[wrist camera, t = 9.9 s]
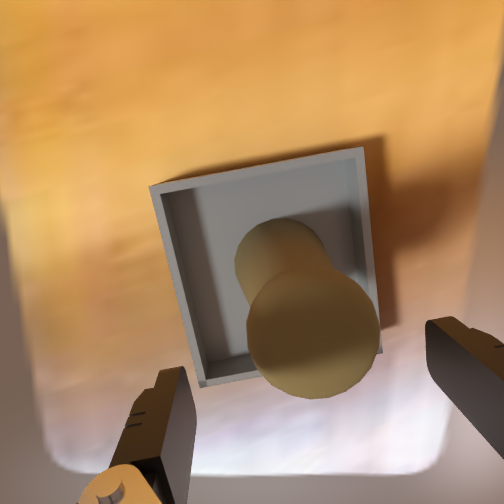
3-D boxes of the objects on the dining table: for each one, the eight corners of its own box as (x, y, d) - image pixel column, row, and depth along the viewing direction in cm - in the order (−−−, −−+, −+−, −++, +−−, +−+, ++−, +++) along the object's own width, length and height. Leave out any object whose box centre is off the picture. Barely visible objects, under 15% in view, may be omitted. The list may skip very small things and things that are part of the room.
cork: (333, 222, 22) (424, 279, 12) (319, 310, 24) (388, 430, 13) (238, 213, 22) (244, 264, 11) (230, 303, 23) (228, 422, 13)
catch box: (158, 183, 22) (148, 186, 19) (348, 147, 22) (363, 146, 19) (202, 366, 25) (199, 388, 23) (368, 334, 25) (382, 353, 23)
